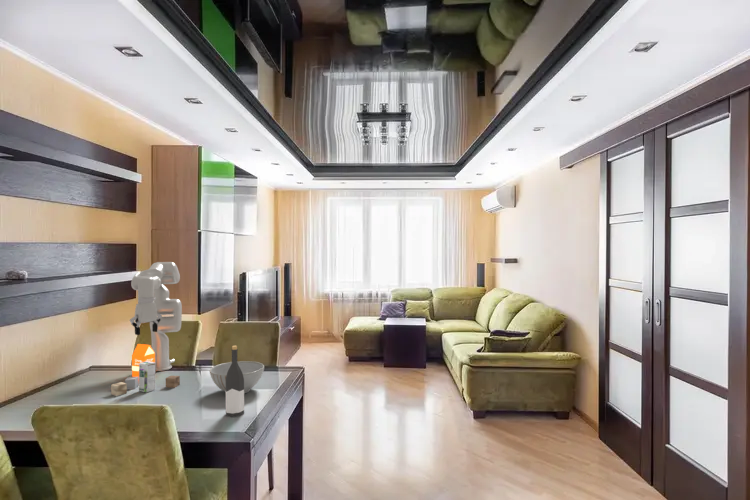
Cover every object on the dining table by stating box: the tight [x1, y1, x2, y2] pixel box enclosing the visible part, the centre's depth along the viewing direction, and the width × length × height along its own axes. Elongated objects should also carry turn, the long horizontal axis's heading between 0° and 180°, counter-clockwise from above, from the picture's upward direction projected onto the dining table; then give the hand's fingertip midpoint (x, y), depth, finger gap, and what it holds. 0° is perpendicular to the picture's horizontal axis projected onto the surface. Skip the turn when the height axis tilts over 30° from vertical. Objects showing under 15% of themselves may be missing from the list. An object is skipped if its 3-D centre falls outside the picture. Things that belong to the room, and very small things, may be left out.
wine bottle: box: [225, 345, 245, 418], centre depth 198 cm, size 8×8×30 cm
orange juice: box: [131, 343, 155, 377], centre depth 249 cm, size 8×9×20 cm
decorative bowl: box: [209, 360, 265, 395], centre depth 229 cm, size 27×27×12 cm
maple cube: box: [110, 381, 128, 397], centre depth 226 cm, size 5×5×5 cm
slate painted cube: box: [124, 376, 139, 390], centre depth 236 cm, size 5×5×5 cm
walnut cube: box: [165, 375, 181, 389], centre depth 238 cm, size 5×5×5 cm
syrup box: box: [138, 361, 156, 393], centre depth 231 cm, size 6×6×14 cm
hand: (146, 333), depth 235 cm, fingers open, 9 cm apart
